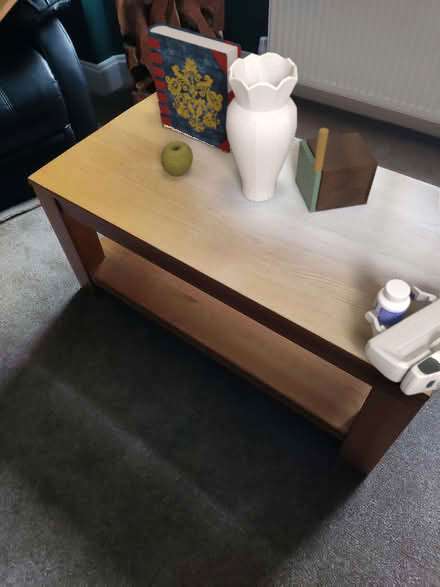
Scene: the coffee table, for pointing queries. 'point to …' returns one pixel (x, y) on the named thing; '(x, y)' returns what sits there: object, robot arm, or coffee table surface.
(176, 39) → the book
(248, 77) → the vase
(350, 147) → the cupboard
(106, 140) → the coffee table surface
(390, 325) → the pill bottle
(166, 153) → the apple
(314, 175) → the cupboard door
